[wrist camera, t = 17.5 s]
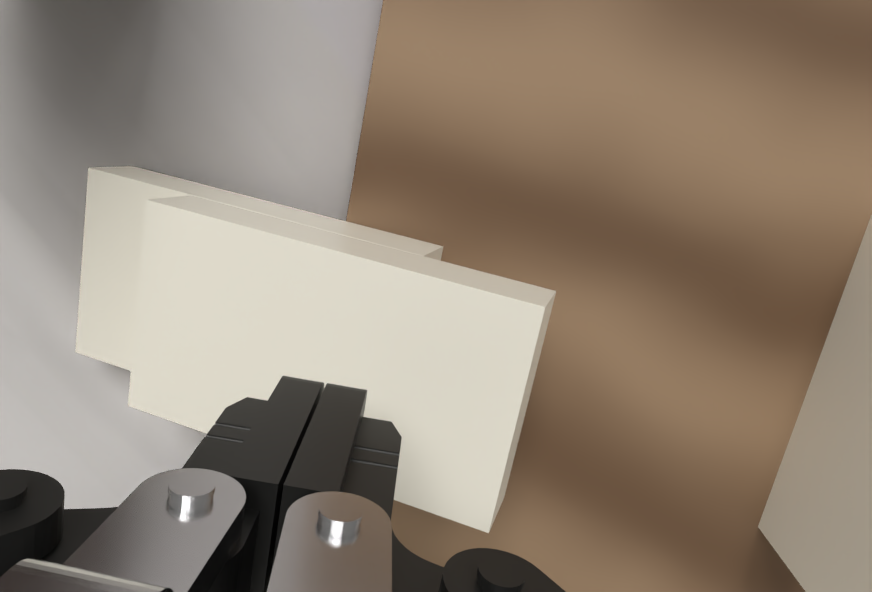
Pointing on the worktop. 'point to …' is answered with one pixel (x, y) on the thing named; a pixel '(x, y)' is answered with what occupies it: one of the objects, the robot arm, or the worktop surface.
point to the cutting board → (634, 254)
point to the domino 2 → (340, 341)
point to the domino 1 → (123, 238)
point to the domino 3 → (831, 455)
